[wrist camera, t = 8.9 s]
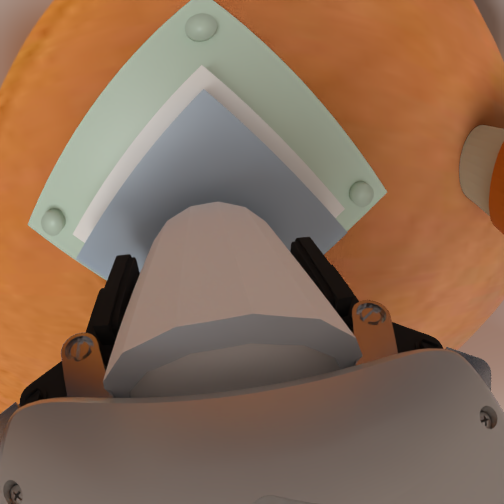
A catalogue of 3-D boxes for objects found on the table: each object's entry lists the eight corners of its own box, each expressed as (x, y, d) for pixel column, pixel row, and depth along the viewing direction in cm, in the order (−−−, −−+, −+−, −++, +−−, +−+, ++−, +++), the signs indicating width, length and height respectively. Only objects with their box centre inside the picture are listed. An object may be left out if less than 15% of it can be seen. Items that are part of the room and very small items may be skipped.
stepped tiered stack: (218, 335, 27) (228, 396, 21) (33, 219, 17) (-12, 269, 11) (380, 187, 21) (435, 225, 16) (200, -3, 12) (205, -51, 6)
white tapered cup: (320, 225, 12) (412, 343, 6) (247, 332, 15) (278, 452, 9) (170, 158, 10) (131, 267, 4) (120, 296, 12) (94, 433, 6)
